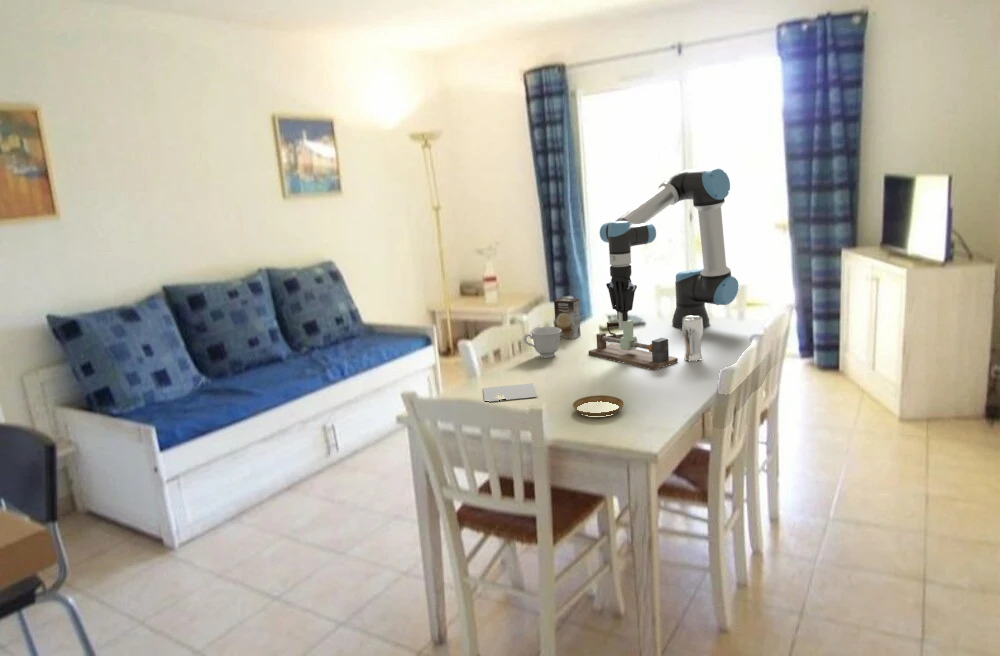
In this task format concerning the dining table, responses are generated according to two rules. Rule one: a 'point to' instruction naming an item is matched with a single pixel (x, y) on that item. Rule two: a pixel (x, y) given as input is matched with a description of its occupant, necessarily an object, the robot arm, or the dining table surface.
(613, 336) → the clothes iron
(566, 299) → the coffee box
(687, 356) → the beer glass
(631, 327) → the sleeve
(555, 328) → the teacup
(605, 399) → the plant saucer
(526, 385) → the paper stack
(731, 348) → the dining table surface
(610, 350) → the rack
